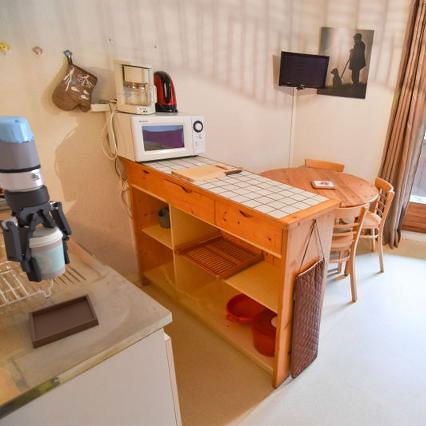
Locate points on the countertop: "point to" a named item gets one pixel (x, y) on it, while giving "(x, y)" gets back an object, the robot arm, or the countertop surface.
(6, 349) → the countertop surface
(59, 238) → the coffee cup
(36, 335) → the tray
